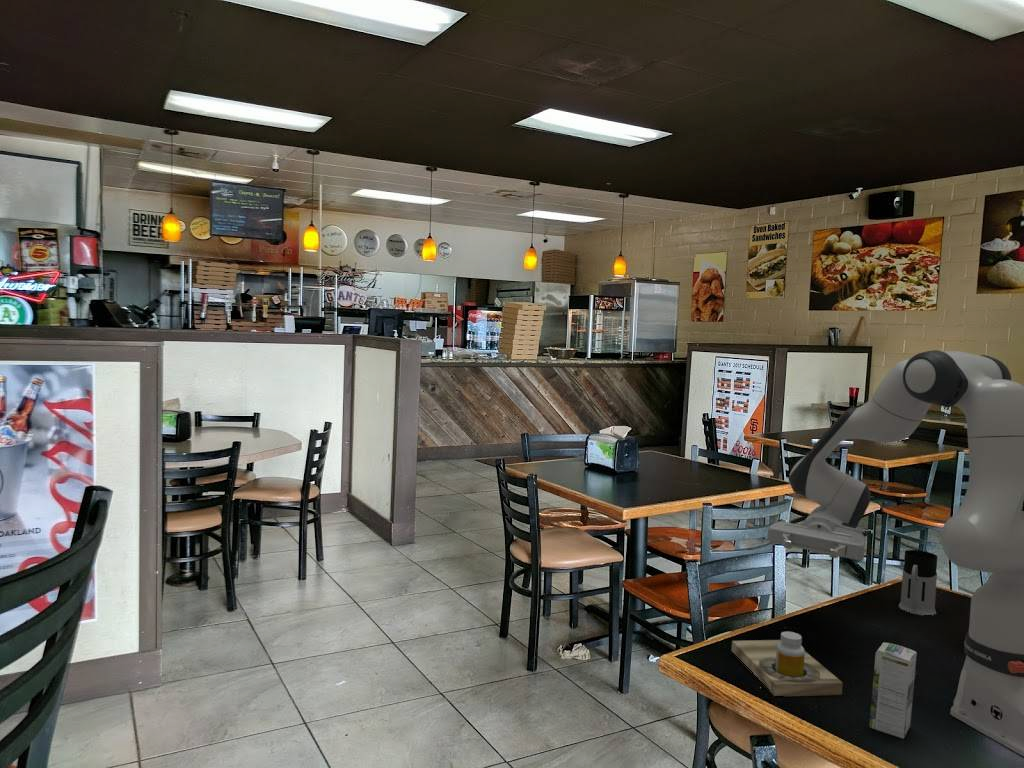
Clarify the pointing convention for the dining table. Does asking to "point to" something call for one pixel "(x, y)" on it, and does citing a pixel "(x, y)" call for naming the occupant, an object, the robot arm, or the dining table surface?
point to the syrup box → (893, 689)
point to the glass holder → (919, 582)
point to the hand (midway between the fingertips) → (809, 549)
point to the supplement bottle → (790, 655)
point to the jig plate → (763, 664)
